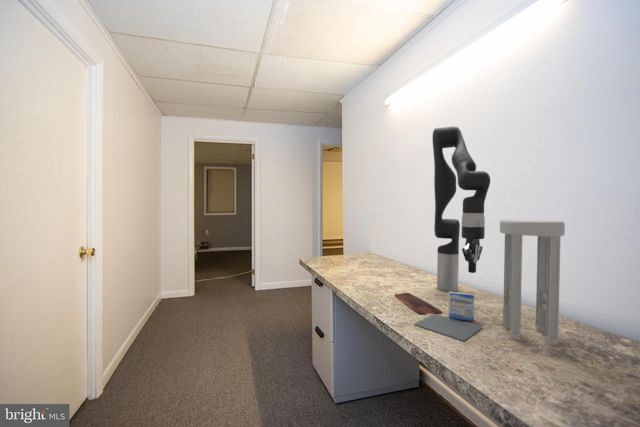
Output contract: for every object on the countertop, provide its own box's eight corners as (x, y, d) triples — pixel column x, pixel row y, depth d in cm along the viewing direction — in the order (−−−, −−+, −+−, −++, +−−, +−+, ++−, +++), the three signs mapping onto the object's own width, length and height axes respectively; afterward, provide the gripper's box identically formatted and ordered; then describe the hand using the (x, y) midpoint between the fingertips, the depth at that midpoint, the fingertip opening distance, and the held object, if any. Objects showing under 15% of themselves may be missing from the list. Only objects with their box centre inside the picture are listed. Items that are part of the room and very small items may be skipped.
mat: (434, 314, 107) (434, 313, 107) (482, 328, 95) (482, 327, 95) (414, 325, 97) (414, 323, 97) (464, 341, 86) (464, 340, 86)
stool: (504, 340, 86) (506, 221, 85) (494, 321, 101) (496, 219, 100) (570, 350, 81) (573, 222, 80) (550, 328, 95) (552, 220, 94)
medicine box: (448, 318, 102) (449, 292, 103) (448, 315, 106) (448, 290, 107) (474, 321, 99) (474, 295, 100) (472, 318, 103) (473, 293, 104)
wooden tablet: (390, 291, 133) (411, 288, 134) (390, 296, 133) (411, 293, 134) (418, 313, 106) (444, 308, 108) (419, 319, 106) (444, 314, 108)
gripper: (469, 224, 116) (469, 268, 116) (454, 225, 107) (453, 273, 107) (490, 225, 110) (489, 271, 110) (476, 226, 101) (475, 276, 102)
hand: (472, 272), depth 109 cm, fingers closed
